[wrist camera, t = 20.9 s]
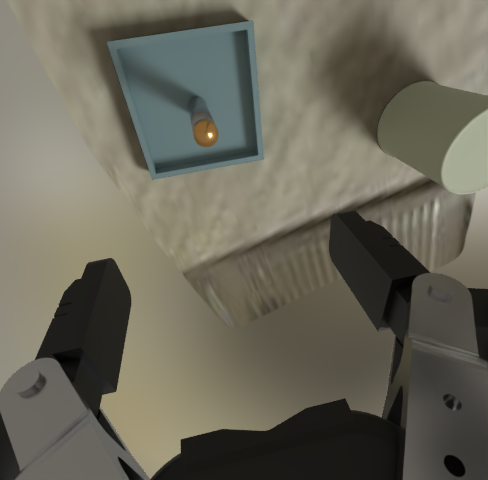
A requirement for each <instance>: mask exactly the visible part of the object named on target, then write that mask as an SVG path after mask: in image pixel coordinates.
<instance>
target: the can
mask: <svg viewBox="0 0 488 480" xmlns="http://www.w3.org/2000/svg"><path fill="white" fill-rule="evenodd" d="M377 138H378V143H379V145H380V147H381V149H382V150H383V151H384V152H385V153H386V154H388V155H389V156H392V157H395V158H397V159H399V160H400V161H402V162H404V163H406V164H407V165H409V166H411V167H412V168H414V169H416V170H417V171H419V172H421V173H422V174H424V175H425V176H427V177H429V178H430V179H432V180H434V181H435V182H437V183H438V184H440V185H441V186H443V187H444V188H445V189H447V190H448V191H450V192H452V193H455V194H470V193H474V192H477V191H480V190H482V189H485V188H486V187H488V96H487V95H482V94H477V93H472V92H468V91H463V90H459V89H454V88H450V87H446V86H442V85H439V84H437V83H435V82H431V81H421V82H416V83H414V84H411V85H409V86H407V87H406V88H404V89H403V90H401V91H400V92H399V93H398V94H396V95H395V96H394V97H393V98H392V100H391V101H390V102H389V103H388V105H387V106H386V108H385V109H384V111H383V113H382V115H381V118H380V120H379V124H378V129H377Z"/></svg>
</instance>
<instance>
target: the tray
mask: <svg viewBox="0 0 488 480" xmlns="http://www.w3.org/2000/svg"><path fill="white" fill-rule="evenodd" d="M107 45H108V48H109V51H110V54H111V57H112V60H113V63H114V66H115V69H116V72H117V75H118V78H119V81H120V84H121V87H122V90H123V93H124V96H125V99H126V102H127V105H128V108H129V111H130V114H131V117H132V120H133V123H134V126H135V129H136V132H137V136H138V139H139V142H140V145H141V148H142V151H143V154H144V157H145V160H146V163H147V166H148V169H149V172H150V175H151V178H152V180H153V179H159V178H164V177H170V176H175V175H181V174H186V173H192V172H197V171H203V170H208V169H214V168H219V167H225V166H230V165H235V164H241V163H246V162H252V161H257V160H263V159H264V156H263V143H262V130H261V116H260V103H259V90H258V77H257V64H256V51H255V38H254V25H253V21H245V22H238V23H232V24H225V25H218V26H211V27H204V28H197V29H190V30H183V31H177V32H170V33H163V34H156V35H149V36H142V37H135V38H128V39H121V40H115V41H108V42H107ZM195 96H198V97H201V98H203V99H204V100H205V102H206V104H207V107H208V109H209V111H210V113H211V116H212V118H213V120H214V123H215V125H216V127H217V130H218V133H219V136H218V140H217V142H216V143H215V144H214V145H213V146H211V147H202V146H200V145H198V144H197V143H196V141H195V139H194V135H193V130H192V125H191V120H190V115H189V110H188V102H189V100H190V99H191V98H193V97H195Z"/></svg>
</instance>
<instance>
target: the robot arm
mask: <svg viewBox="0 0 488 480" xmlns="http://www.w3.org/2000/svg"><path fill="white" fill-rule="evenodd" d="M329 253H330V257H331V259H332V262H333V263H334V265H335V266H336V268H337V269H338V271H339V273H340V274H341V276H342V277H343V279H344V280H345V282H346V283H347V285H348V286H349V287H350V289H351V291H352V292H353V294H354V295H355V297H356V298H357V300H358V301H359V303H360V305H361V306H362V308H363V309H364V311H365V312H366V314H367V315H368V317H369V318H370V320H371V321H372V323H373V324H374V326H375V327H376V329H377V330H378V331H382V330H387V329H391V330H392V331H393V332H394V334H395V337H394V341H393V348H392V356H391V364H390V372H389V380H388V389H387V395H386V399H385V403H384V407H383V413H382V418H381V417H378V416H376V415H373V414H370V413H366V412H361V411H355V410H350V408H349V406H348V404H347V402H346V399H341V400H337V401H333V402H330V403H325V404H322V405H317V406H313V407H310V408H306V409H304V410H303V411H301V412H299V413H297V414H296V415H294V416H292V417H291V418H289V419H287V420H286V421H284V422H282V423H281V424H279V425H277V426H276V427H274V428H272V429H270V430H268V431H251V430H250V431H249V430H229V429H221V430H218V431H213V432H209V433H205V434H201V435H197V436H193V437H189V438H185V439H181V453H180V454H178V455H177V456H175V457H174V458H173V459H171V460H170V461H168V462H167V463H166V464H165V465H164V466H163V467H162V468H161V469H159V471H157V472H156V474H155V475H154V476H153V477H152V478H151V479H149V477H148V476H147V475H146V473H145V472H144V470H143V469H142V468H141V466H140V465H139V464H138V463H137V461H136V460H135V459H134V458H133V456H132V455H131V453H130V452H129V450H128V449H127V447H126V446H125V444H124V443H123V441H122V439H121V438H120V436H119V435H118V433H117V432H116V430H115V429H114V427H113V426H112V424H111V423H110V421H109V419H108V418H107V416H106V415H105V413H104V412H103V410H102V409H101V408H100V403H101V398H102V395H104V394H108V393H112V392H116V390H117V384H118V378H119V372H120V367H121V361H122V355H123V349H124V343H125V337H126V331H127V326H128V320H129V315H130V308H131V294H130V291H129V288H128V286H127V284H126V282H125V280H124V278H123V276H122V274H121V272H120V270H119V268H118V266H117V264H116V262H115V261H114V260H113V259H112V258H108V259H104V260H98V261H94V262H89V263H88V264H87V265H86V268H85V270H84V273H83V275H82V278H81V279H77V280H75V281H74V282H73V283H72V284H71V285H70V286H69V287H68V289H67V290H66V291H65V292H64V294H63V296H62V299H61V301H60V303H59V307H58V308H57V310H56V312H55V315H54V318H53V319H52V322H51V324H50V326H49V329H48V331H47V333H46V336H45V338H44V340H43V342H42V345H41V347H40V349H39V351H38V354H37V356H36V359H35V360H34V361H32V362H30V363H28V364H26V365H25V366H23V367H21V368H20V369H19V370H18V371H16V373H14V374H13V375H12V376H11V377H10V378H9V379H8V381H7V382H6V383H5V385H4V386H3V388H2V390H1V392H0V480H488V289H475V288H466V286H464V285H463V284H462V283H461V282H459V281H457V280H456V279H454V278H452V277H450V276H447V275H443V274H438V273H430V272H429V271H428V270H427V269H426V268H425V267H424V266H423V265H422V264H421V263H420V262H419V261H418V260H417V259H416V258H415V257H414V256H413V255H412V254H411V253H410V252H409V251H407V250H406V249H405V248H404V247H403V246H402V245H400V243H399V242H398V241H397V240H396V239H395V238H393V236H392V235H391V234H390V233H389V232H388V231H387V230H386V229H385V228H384V227H382V226H380V225H378V224H376V223H374V222H372V221H365V220H364V219H363V218H362V217H361V216H360V215H359V214H358V213H357V212H356V211H354V210H352V211H347V212H342V213H337V214H333V215H332V218H331V227H330V240H329Z"/></svg>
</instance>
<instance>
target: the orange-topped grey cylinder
mask: <svg viewBox="0 0 488 480" xmlns="http://www.w3.org/2000/svg"><path fill="white" fill-rule="evenodd" d="M188 110H189V115H190V120H191V125H192V130H193V135H194V139H195V141H196V143H197V144H198V145H200V146H202V147H211V146H213V145H214V144H215V143H216V142H217V140H218V136H219V133H218V130H217V127H216V125H215V123H214V120H213V118H212V116H211V113H210V111H209V109H208V107H207V104H206V102H205V100H204V99H203V98H201V97H198V96H195V97H193V98H191V99H190V100H189V102H188Z"/></svg>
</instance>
